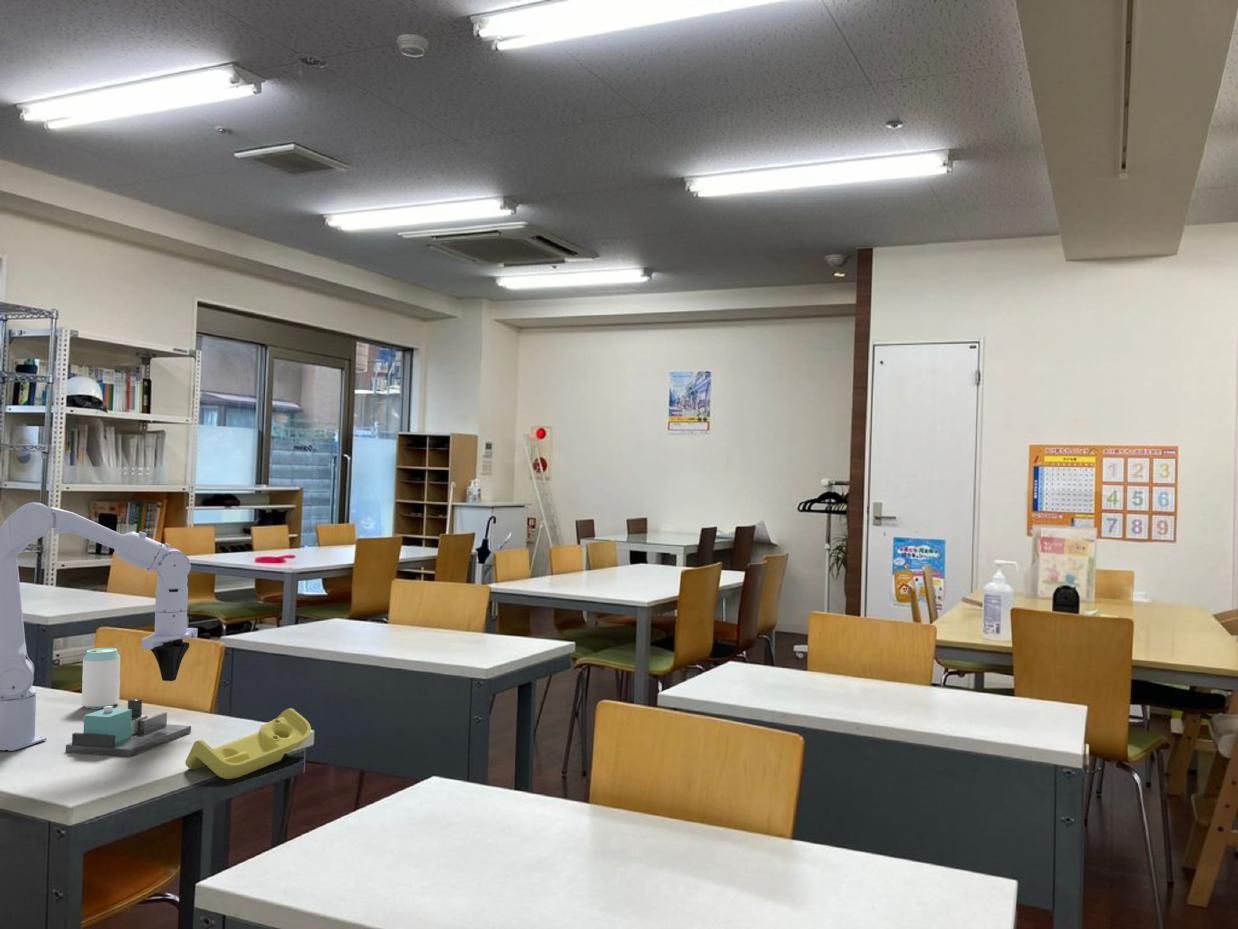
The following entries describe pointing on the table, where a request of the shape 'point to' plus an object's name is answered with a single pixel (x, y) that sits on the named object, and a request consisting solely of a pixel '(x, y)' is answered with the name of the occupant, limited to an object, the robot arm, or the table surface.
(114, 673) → the can
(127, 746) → the press bed
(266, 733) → the plastic component
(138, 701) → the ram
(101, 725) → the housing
